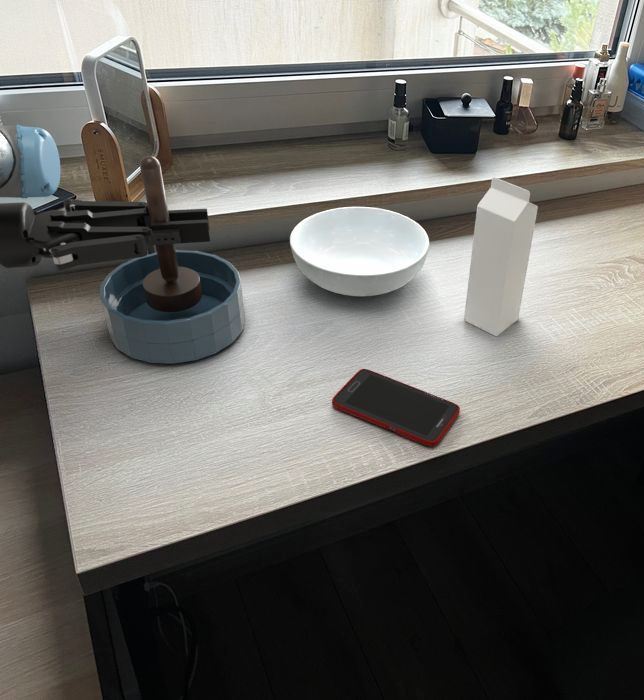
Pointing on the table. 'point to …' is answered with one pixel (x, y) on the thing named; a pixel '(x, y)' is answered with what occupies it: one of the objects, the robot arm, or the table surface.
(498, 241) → the milk
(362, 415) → the cell phone
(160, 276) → the paper towel holder
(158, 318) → the mixing bowl
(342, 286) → the serving bowl
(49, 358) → the table surface
